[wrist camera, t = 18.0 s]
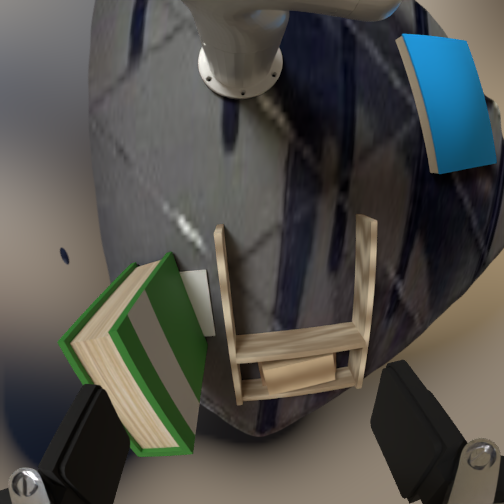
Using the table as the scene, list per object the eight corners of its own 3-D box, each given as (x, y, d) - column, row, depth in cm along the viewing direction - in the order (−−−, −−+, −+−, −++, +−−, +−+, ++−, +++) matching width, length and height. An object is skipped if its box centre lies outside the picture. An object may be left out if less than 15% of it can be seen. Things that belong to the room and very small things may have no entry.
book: (440, 175, 41) (402, 33, 34) (426, 173, 45) (391, 40, 38) (499, 162, 41) (468, 39, 33) (485, 161, 45) (456, 44, 38)
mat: (125, 276, 47) (124, 277, 47) (206, 269, 48) (205, 270, 47) (140, 337, 51) (139, 338, 50) (215, 334, 51) (215, 335, 51)
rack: (216, 224, 46) (213, 235, 39) (361, 213, 46) (380, 222, 39) (237, 384, 54) (237, 409, 48) (351, 369, 55) (363, 391, 48)
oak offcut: (261, 360, 50) (262, 370, 47) (328, 344, 50) (333, 354, 47) (268, 384, 52) (269, 395, 49) (331, 369, 52) (335, 379, 49)
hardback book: (131, 263, 46) (57, 342, 23) (171, 251, 46) (116, 330, 23) (169, 352, 51) (138, 456, 28) (207, 344, 51) (192, 454, 28)
